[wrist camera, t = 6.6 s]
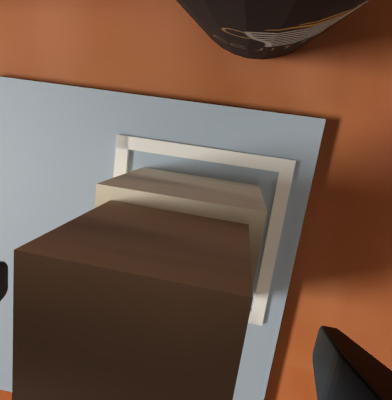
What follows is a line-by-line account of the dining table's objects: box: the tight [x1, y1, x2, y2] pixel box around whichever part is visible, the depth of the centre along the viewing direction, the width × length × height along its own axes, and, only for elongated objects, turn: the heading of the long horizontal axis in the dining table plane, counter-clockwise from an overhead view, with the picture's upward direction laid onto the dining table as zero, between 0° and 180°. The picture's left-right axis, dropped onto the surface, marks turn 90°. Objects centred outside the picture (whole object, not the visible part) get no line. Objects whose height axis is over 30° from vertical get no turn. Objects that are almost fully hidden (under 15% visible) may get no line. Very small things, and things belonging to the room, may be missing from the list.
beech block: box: [95, 167, 267, 289], centre depth 13 cm, size 6×6×5 cm
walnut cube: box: [12, 200, 253, 400], centre depth 8 cm, size 4×4×4 cm
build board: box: [0, 77, 326, 400], centre depth 17 cm, size 18×16×1 cm
